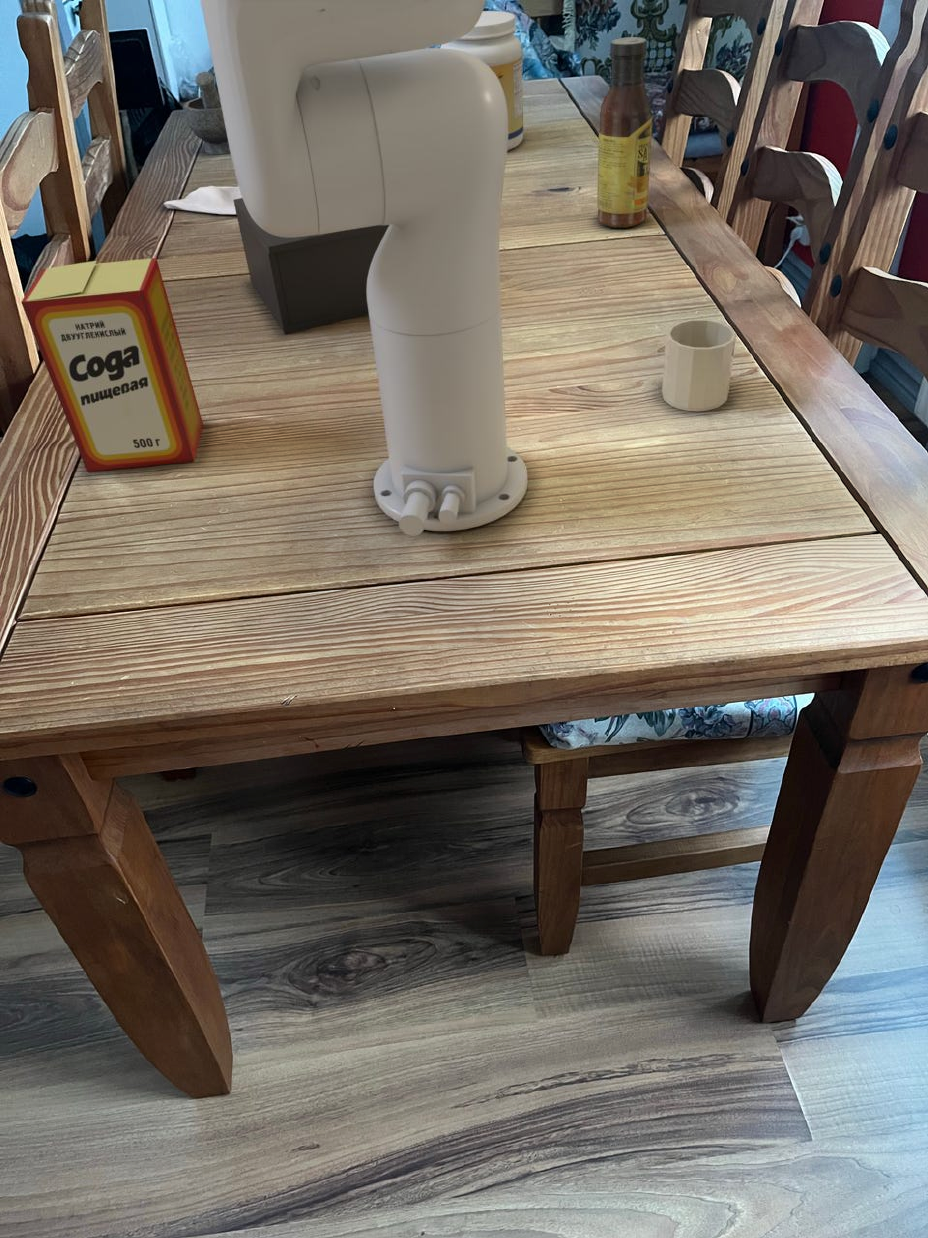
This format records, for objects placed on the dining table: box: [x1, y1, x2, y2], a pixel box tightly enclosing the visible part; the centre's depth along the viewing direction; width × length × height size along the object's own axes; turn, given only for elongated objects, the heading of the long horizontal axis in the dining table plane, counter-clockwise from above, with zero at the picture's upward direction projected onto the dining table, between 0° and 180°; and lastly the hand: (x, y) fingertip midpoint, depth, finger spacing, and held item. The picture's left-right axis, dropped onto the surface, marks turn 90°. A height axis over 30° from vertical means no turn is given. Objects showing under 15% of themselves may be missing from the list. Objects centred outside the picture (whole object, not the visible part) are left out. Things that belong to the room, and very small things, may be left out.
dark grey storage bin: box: [235, 208, 387, 335], centre depth 107 cm, size 16×14×9 cm
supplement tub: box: [439, 10, 525, 152], centre depth 143 cm, size 12×12×17 cm
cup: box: [661, 318, 737, 412], centre depth 86 cm, size 6×6×6 cm
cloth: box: [162, 185, 242, 216], centre depth 136 cm, size 26×14×2 cm, turn 91°
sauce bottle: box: [596, 36, 654, 229], centre depth 115 cm, size 7×6×20 cm
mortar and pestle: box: [183, 71, 231, 155], centre depth 152 cm, size 11×9×12 cm
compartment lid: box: [233, 198, 389, 255], centre depth 102 cm, size 16×14×5 cm
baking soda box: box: [21, 257, 204, 473], centre depth 82 cm, size 10×6×16 cm
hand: (338, 88), depth 93 cm, fingers open, 9 cm apart
